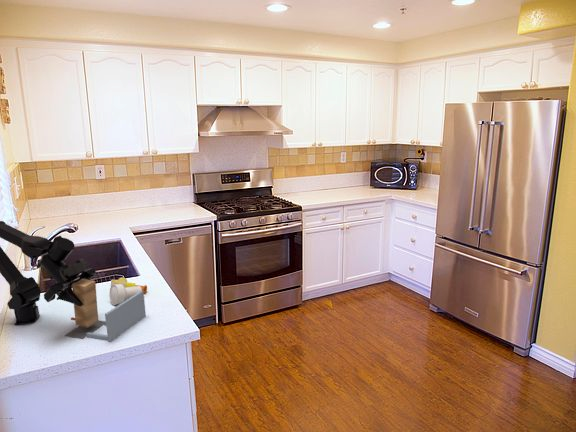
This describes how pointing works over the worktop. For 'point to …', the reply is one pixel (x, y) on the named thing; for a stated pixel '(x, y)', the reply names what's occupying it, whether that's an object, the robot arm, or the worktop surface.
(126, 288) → the spotlight
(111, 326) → the lane rack
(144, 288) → the toy
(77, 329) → the mat
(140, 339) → the worktop surface
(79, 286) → the oak block
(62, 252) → the robot arm
